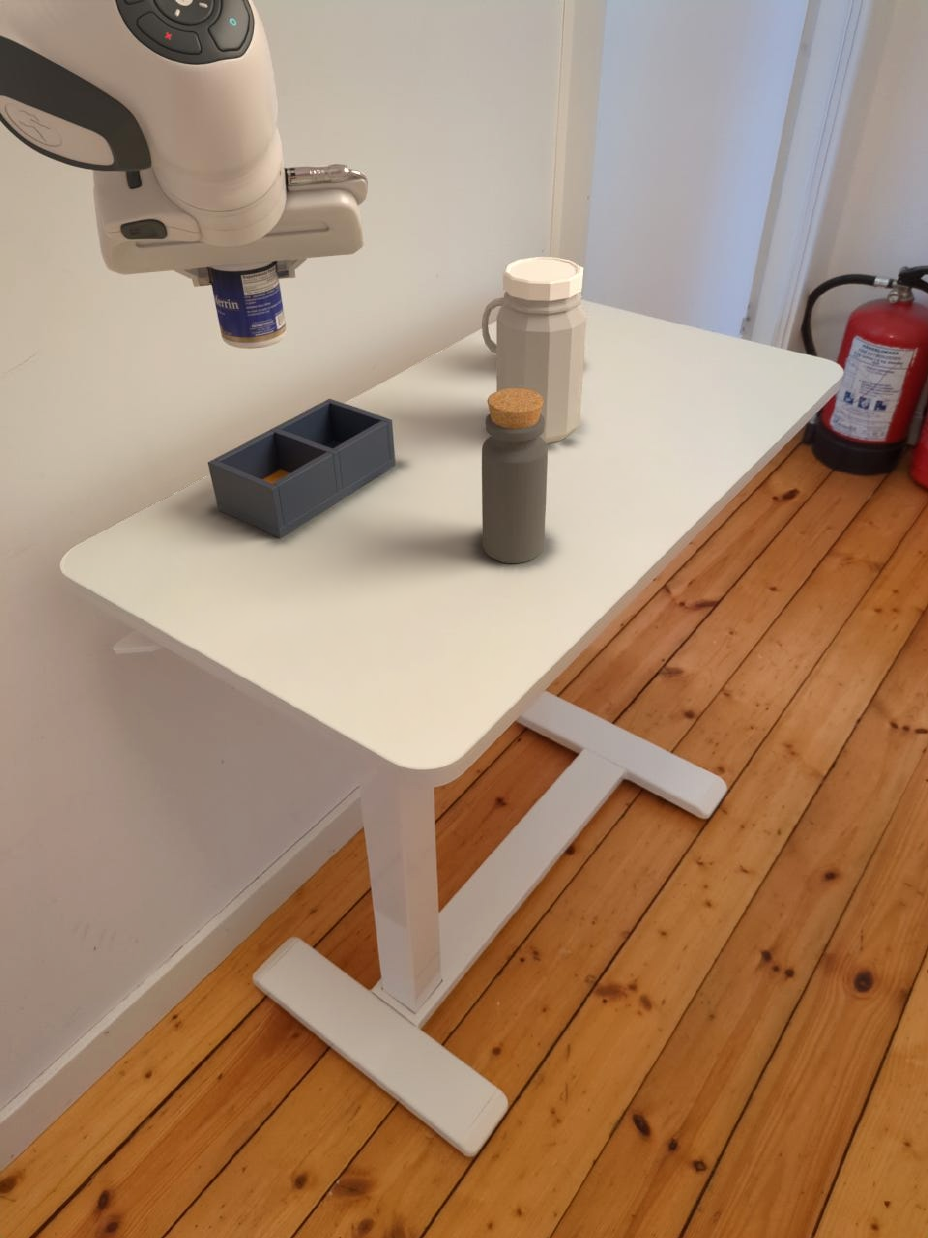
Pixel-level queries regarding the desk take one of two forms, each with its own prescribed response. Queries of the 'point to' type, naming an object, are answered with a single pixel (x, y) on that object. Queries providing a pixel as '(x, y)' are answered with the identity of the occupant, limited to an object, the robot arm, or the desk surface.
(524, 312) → the jar
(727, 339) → the desk surface
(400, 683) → the desk surface
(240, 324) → the pill bottle
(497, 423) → the bottle
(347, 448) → the rack
